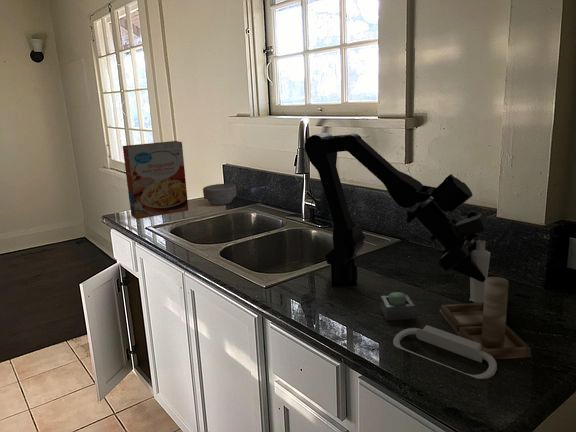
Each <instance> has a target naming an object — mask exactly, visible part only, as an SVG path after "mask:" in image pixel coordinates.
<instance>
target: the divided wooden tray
mask: <svg viewBox="0 0 576 432" xmlns="http://www.w3.org/2000/svg"><path fill="white" fill-rule="evenodd" d="M483 308H484V303H475V302H473V303H456V304H455V303H453V304H441V307H440V309H438V311H439V313H441V314H442V316H443V318H445V320H446V321H447V322H448V324H449V326H451V328H452V329H453V330H454V332H455V333H456V335H457V336H460V337H462V338H465V339H468V340H471V341H474V342H477V343H480V344H481V351H484V352H486V353H488V354H489V355H491V356H492V357H493V358H494V359H495V360H501V359H502V360H503V359H504V360H505V359H516V358H517V359H519V358H532V357H533V356H532V355H531V350H532V348H531V347H530V346H529V345H528V344H527V343H526V342H525V341H524V340H523V339H522V338H521V337H519V335H518V334H517V333H516V332H514V330H513V329H512V328H511V327H510V326H508V324H506V326H505V340H504V348H494V349H488V348H486V347H484V346H483V345H482V343H481V342H482V325H483ZM478 352H479V351H478ZM483 360H484V359H483V358H482V361H483ZM484 361H485V360H484Z"/></svg>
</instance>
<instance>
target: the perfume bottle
mask: <svg viewBox="0 0 576 432" xmlns="http://www.w3.org/2000/svg"><path fill="white" fill-rule="evenodd" d="M486 241H487V240H481V239H480V240H479V241H476V250H474V251H473V254H472V259H473V261H474V262H475V264H476V265H477V266H478V268H479V269H480V271H481V272H482V273H483V275H484V276H485V278H488V277H489V275H488V274H489V272H488V268H490V261H491V260H490V259H491V252H490V251H488V250H486ZM469 287H470V288H469V290H470V297H469V301H470V302H471V301H472V302H473V303H484V291H485V281H484V282H481V281H478V280H476V279H474V278H471V277H469Z"/></svg>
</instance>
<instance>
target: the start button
mask: <svg viewBox="0 0 576 432" xmlns="http://www.w3.org/2000/svg"><path fill="white" fill-rule="evenodd" d="M406 295H407V294H406V293H403V292H400V291H399V292H398V291H396V292H395V291H394V292H391V293H390V294H388V296H389V304H390V305H405V304H406Z"/></svg>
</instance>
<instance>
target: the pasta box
mask: <svg viewBox="0 0 576 432" xmlns="http://www.w3.org/2000/svg"><path fill="white" fill-rule="evenodd" d="M122 154H123V160H124V168H125V177H126V183H127V186H126V187H127V193H128V201H129V209H130V216H131V217H132V218H134V219H136V220H139V219H147V218H152V217H158V216H164V215H170V214H175V213H181V212H186V211H187V212H188V211H189V202H188V200H189V199H188V194H187V193H188V191H187V181H186V170H185V159H184V158H185V157H184V151H183V141H177V140H170V141H162V142H152V143H151V142H150V143H139V144H130V145H122Z"/></svg>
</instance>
